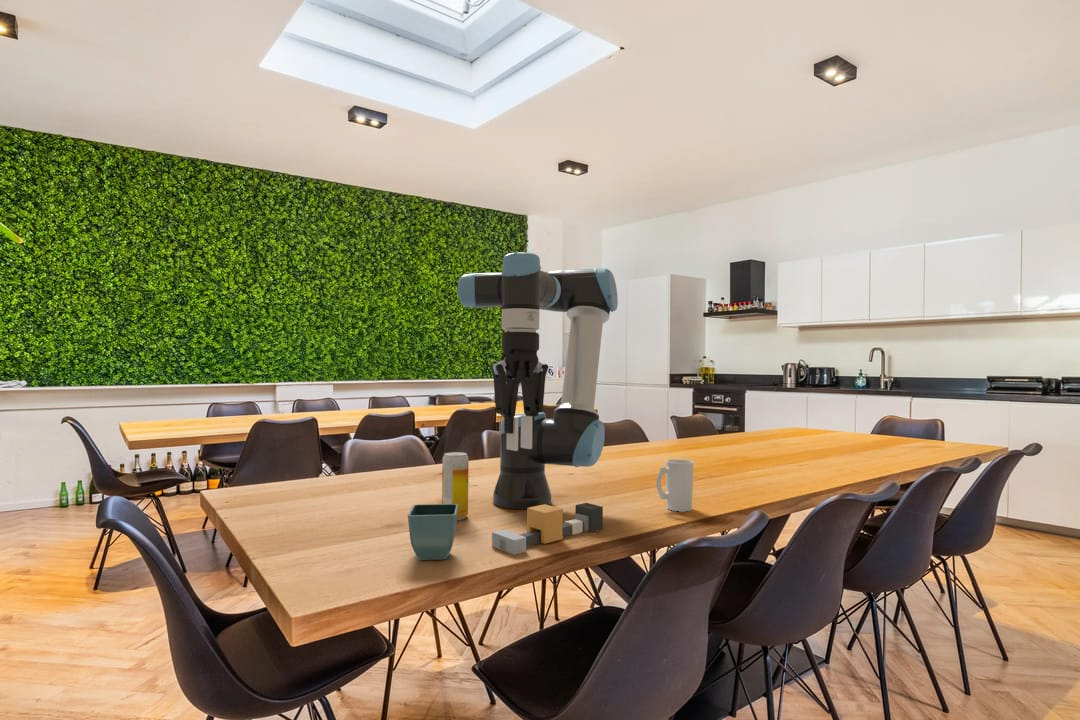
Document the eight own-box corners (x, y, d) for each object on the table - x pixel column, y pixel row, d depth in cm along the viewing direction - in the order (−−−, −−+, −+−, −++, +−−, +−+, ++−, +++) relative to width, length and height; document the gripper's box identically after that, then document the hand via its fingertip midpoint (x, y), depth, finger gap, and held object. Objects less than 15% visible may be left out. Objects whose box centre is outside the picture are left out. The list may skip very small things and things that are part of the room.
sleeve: (544, 543, 123) (544, 513, 123) (526, 537, 127) (527, 507, 127) (562, 539, 127) (562, 509, 127) (544, 533, 131) (545, 504, 131)
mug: (682, 504, 159) (683, 458, 159) (698, 511, 152) (699, 462, 152) (649, 508, 155) (649, 460, 155) (663, 514, 149) (664, 465, 149)
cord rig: (514, 554, 117) (514, 528, 117) (491, 546, 122) (492, 521, 122) (605, 530, 134) (606, 507, 134) (583, 523, 140) (583, 501, 140)
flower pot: (412, 549, 120) (413, 503, 120) (458, 548, 121) (458, 503, 121) (406, 564, 111) (407, 515, 111) (455, 563, 112) (456, 514, 112)
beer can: (472, 516, 145) (473, 452, 145) (458, 522, 140) (459, 456, 140) (451, 513, 148) (451, 451, 148) (436, 518, 142) (437, 454, 142)
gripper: (500, 329, 114) (499, 455, 114) (562, 332, 125) (561, 447, 125) (476, 330, 120) (475, 450, 120) (538, 333, 130) (537, 443, 130)
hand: (519, 448), depth 122 cm, fingers open, 3 cm apart
